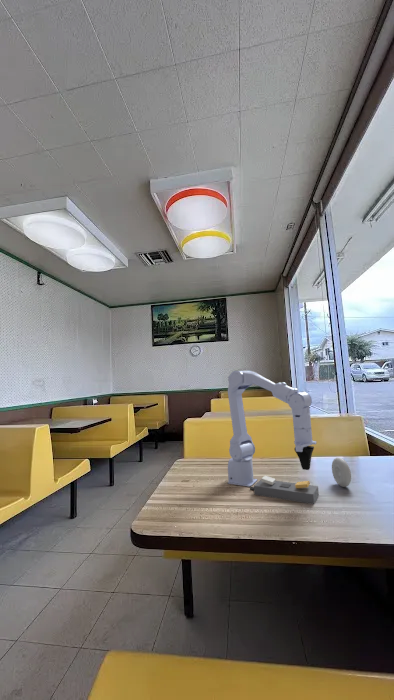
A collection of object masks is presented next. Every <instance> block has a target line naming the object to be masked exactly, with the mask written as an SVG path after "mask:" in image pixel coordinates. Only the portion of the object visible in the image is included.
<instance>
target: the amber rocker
mask: <svg viewBox="0 0 394 700" xmlns="http://www.w3.org/2000/svg"><path fill="white" fill-rule="evenodd" d="M310 482H311V481H310V480H303V481H297V482H295V483H296V484H295V487H296V488H306V487H308V486H309V485H311V483H310Z"/></svg>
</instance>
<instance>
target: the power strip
mask: <svg viewBox="0 0 394 700" xmlns="http://www.w3.org/2000/svg"><path fill="white" fill-rule="evenodd" d="M296 483H297V482H290V481H289V482H288V481H283V480H282V481H281V480H276V481H275V483H274V484H273V485H271V484H268V483H265V482H262V481H261V479H259V480H258V481H256V482H255V483H254V484H253V486H250V487H249V489H250V490H251V491H253V493H254V494H253V495H255V496H261V497H266V498H267V497H268V498H273V499H278V500H279V499H280V500H285V501H292V502H298V503H304V504H310V505H315V504H316V502H317V499H319V496H320V494H319V493H320V492H319V486H318V485H313V484H310V485H309V486H308V487H306V488H296V487H295V484H296Z"/></svg>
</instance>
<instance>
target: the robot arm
mask: <svg viewBox="0 0 394 700" xmlns="http://www.w3.org/2000/svg"><path fill="white" fill-rule="evenodd" d="M227 378H228V379H227V380H228V387H227V395H228V396H227V397H228V404H229V405H228V406H229V411H230V418H231V426H232V433H233V435H232V436H231V439H230V440H229V449H228V450H229V451H228V452H229V456H230V457H231V458H229V460H228V463H227V476H228V477H227V479H228V480H227V484H228V485H229V484H231V485H236V486H242V487H243V486H244V487H249V488H250V487H253V486H254V485H255V484H256V483H257V482H258V479H257V478H254V469H253V468H254V467H253V466H254V465H253V458H254V457H253V455H254V454H255V453H256V447H255V444H254V442H253V439H252V436H251V435H250V434H249V433H248V429H247V423H246V416H245V415H246V414H245V410H244V408H245V407H244V402H243V395H242V394H243V393H244V392H245V391H246V389H248V388H249V387H251V386H253V385H256V386H258V387H260V388H262V389H264V390H266V391H269V392H271V393H272V397H274V398H276V399H278V400H280V401H282V402H283V403H286V404H287V405H288V406H289V407H290V409H291V415H292V424H293V425H292V426H293V435H294V436H293V437H294V441H293V443H294V445H295V447H294V452H295V453H296V455H297V457H298V460H299V462H300V466H301V469H302V470H304V471H305V470H306V471H309V470H310V469H311V463H312V462H311V459H312V455H313V453H314V452H313V451H314V449H315V447H314V446H312V445H317V440H313V431H312V420H311V410H310V409H311V408H310V406H311V405H312V403H313V402H312V401H313V399H312V396H311V395H310V394H309V393H308V392H307V391H303V390H302V391H299V389H298V388H293V387H291V386H289V385H287V383H286V382H284V381H282V382H277V383H275V382H274V381H271V380H270V379H268V378H266V377H264V376H263V375H261V374H259V373H258V372H256V371H253V370H250V369H247V370H246V369H245V370H233V371H232V372H231V373H230V374H229V375H228V377H227Z"/></svg>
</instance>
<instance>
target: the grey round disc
mask: <svg viewBox="0 0 394 700" xmlns="http://www.w3.org/2000/svg"><path fill="white" fill-rule="evenodd" d="M331 473H332V477H333V479H334V481H335V483H336V484H337V485H338V486H340V487H342V488H346V487H349V486H350V484H351V481H352V472H351V469H350V465H349V464H348V462H347V461H346V460H345V459H343V458H342V457H336V458H334V459H333V460H332V464H331Z"/></svg>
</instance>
